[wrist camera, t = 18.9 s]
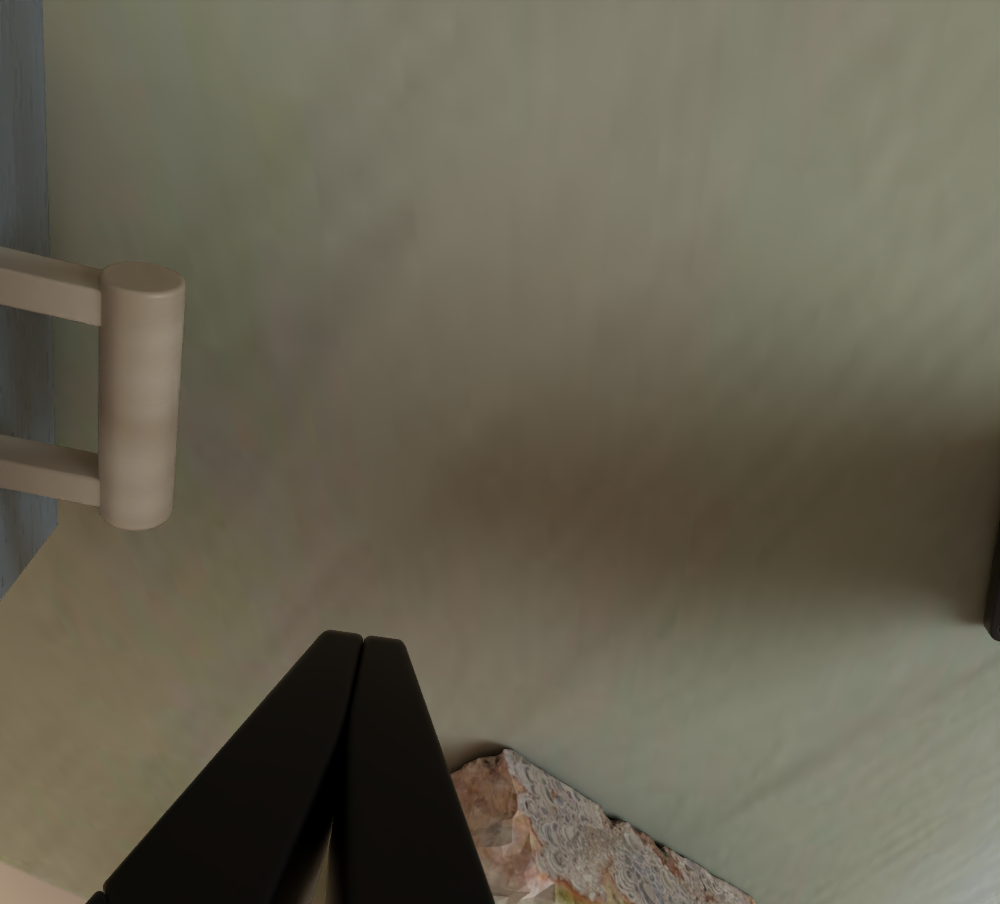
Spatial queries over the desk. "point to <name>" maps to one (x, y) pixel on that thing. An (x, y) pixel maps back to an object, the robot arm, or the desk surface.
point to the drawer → (82, 298)
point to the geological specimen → (569, 844)
